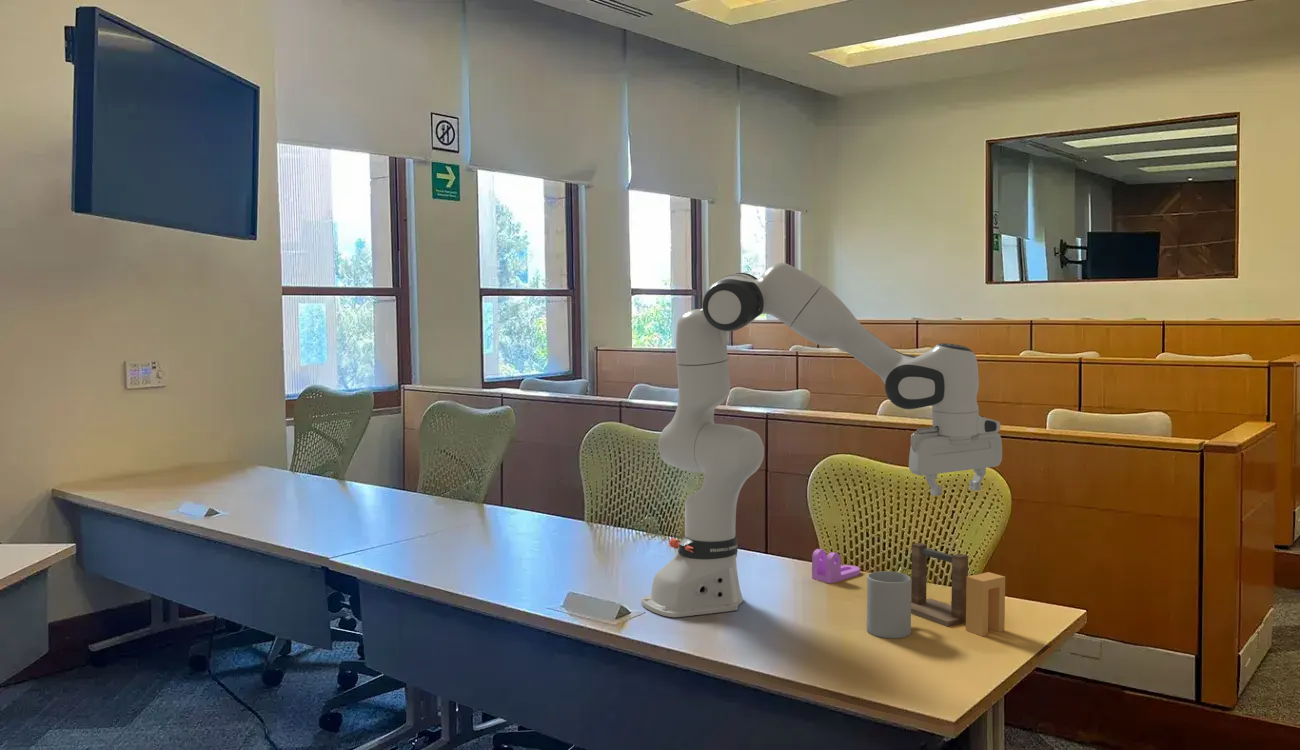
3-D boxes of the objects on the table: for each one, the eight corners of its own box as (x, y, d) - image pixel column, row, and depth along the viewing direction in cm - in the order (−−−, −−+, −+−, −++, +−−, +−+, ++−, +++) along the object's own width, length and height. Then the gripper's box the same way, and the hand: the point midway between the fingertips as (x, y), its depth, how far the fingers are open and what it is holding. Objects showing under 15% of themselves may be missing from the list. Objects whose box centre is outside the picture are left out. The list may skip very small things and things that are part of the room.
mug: (901, 641, 180) (902, 585, 180) (859, 633, 185) (860, 578, 185) (923, 624, 190) (923, 571, 190) (882, 617, 195) (883, 565, 194)
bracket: (830, 584, 220) (831, 554, 220) (811, 579, 224) (812, 550, 224) (864, 573, 229) (864, 545, 228) (845, 569, 233) (845, 541, 232)
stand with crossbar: (947, 626, 189) (948, 559, 188) (899, 609, 200) (900, 546, 199) (978, 619, 194) (979, 553, 193) (930, 602, 205) (930, 540, 204)
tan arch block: (982, 636, 183) (982, 581, 183) (965, 630, 187) (966, 576, 186) (1004, 630, 186) (1005, 576, 186) (987, 624, 190) (988, 572, 189)
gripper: (920, 431, 183) (921, 501, 184) (1007, 422, 189) (1007, 490, 191) (901, 427, 189) (902, 494, 190) (986, 418, 195) (986, 483, 197)
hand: (955, 492), depth 190 cm, fingers open, 8 cm apart
